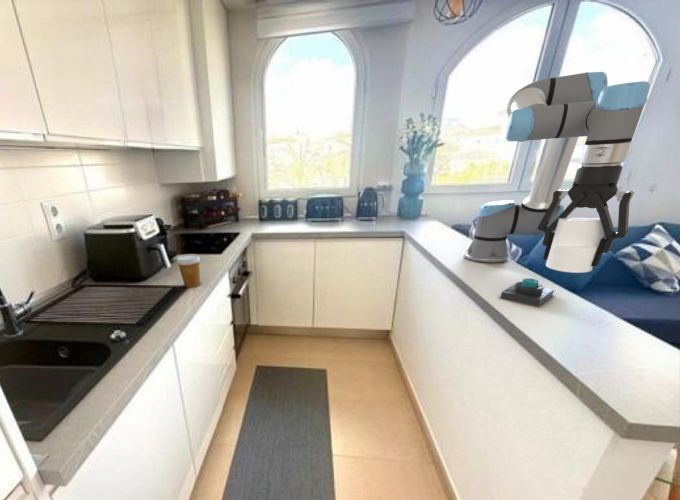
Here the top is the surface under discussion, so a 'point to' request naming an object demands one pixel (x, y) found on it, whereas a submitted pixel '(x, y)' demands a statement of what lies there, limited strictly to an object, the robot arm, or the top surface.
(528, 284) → the button
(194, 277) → the disposable coffee cup
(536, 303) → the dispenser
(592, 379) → the top surface
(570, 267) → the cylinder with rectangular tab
